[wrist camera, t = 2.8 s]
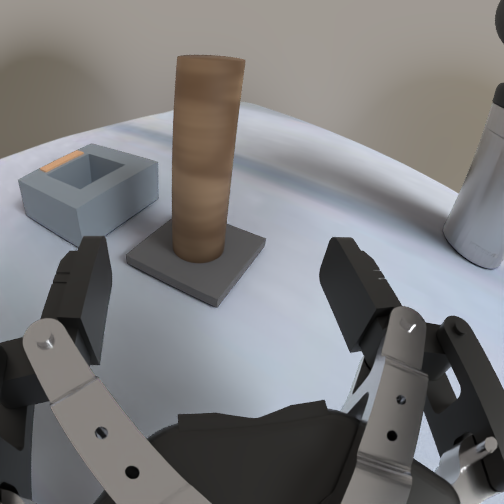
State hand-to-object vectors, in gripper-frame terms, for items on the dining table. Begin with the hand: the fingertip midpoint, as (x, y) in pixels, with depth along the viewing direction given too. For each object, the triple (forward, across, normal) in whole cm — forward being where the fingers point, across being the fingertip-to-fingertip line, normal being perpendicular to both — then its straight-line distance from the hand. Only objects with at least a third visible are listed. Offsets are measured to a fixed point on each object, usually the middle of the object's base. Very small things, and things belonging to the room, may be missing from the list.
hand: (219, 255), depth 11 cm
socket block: (+19, +11, +9) cm, 23 cm away
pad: (+11, 0, +9) cm, 15 cm away
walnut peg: (+11, 0, +8) cm, 14 cm away
